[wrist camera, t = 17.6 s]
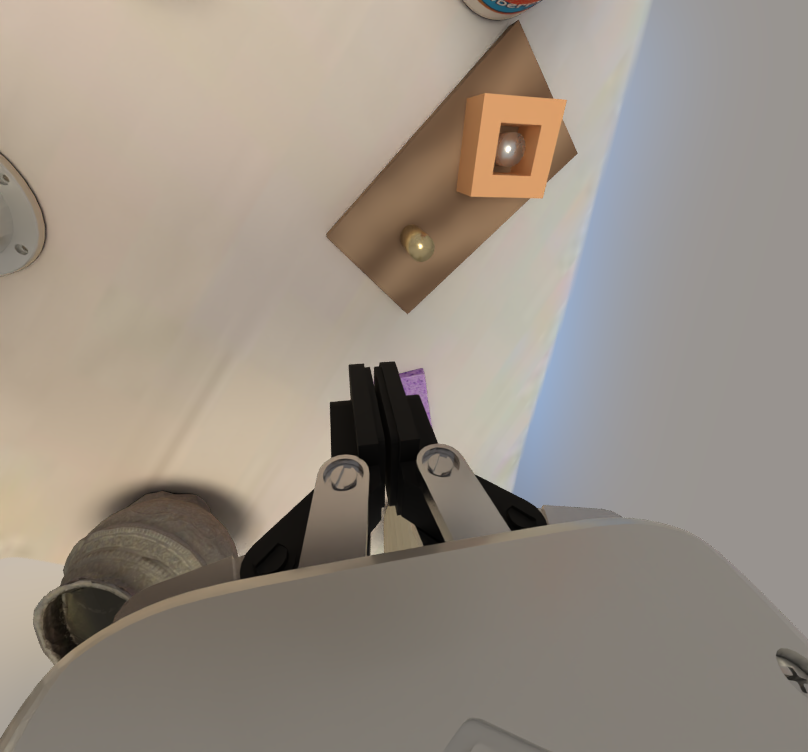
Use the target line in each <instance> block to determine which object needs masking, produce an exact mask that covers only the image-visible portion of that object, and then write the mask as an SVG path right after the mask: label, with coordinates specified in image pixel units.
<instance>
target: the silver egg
mask: <svg viewBox="0 0 808 752" xmlns="http://www.w3.org/2000/svg"><path fill="white" fill-rule="evenodd" d="M524 153H525V140H524V138H523V136H522V135H521V134H520V133H517V132H504V133H499V138H498V144H497V150H496V156H495V162H494V165H498V166H505V167H512V166H515V165H516V164H518V163H519V162H520V160H521V159H522V157H523V155H524Z"/></svg>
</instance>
